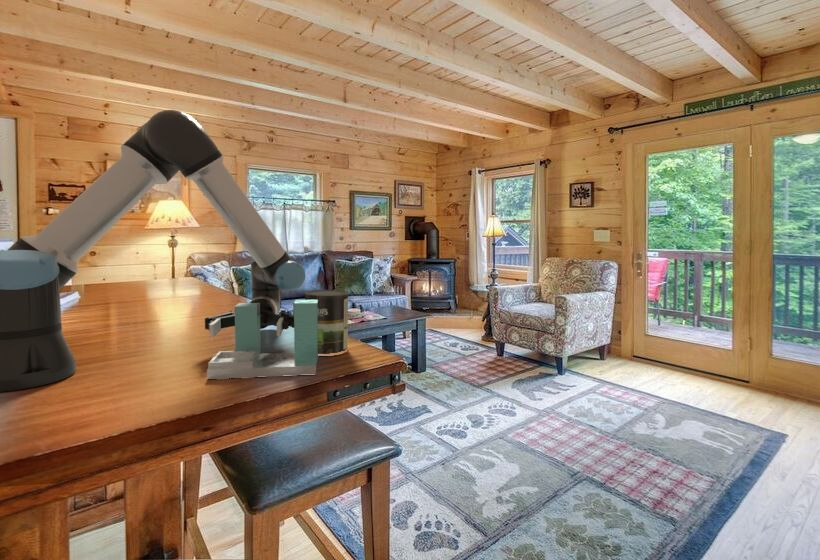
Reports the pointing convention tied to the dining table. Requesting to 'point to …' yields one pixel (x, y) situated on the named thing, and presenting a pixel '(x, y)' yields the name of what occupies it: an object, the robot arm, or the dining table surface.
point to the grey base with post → (275, 363)
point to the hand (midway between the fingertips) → (245, 330)
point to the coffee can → (331, 319)
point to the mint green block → (247, 327)
